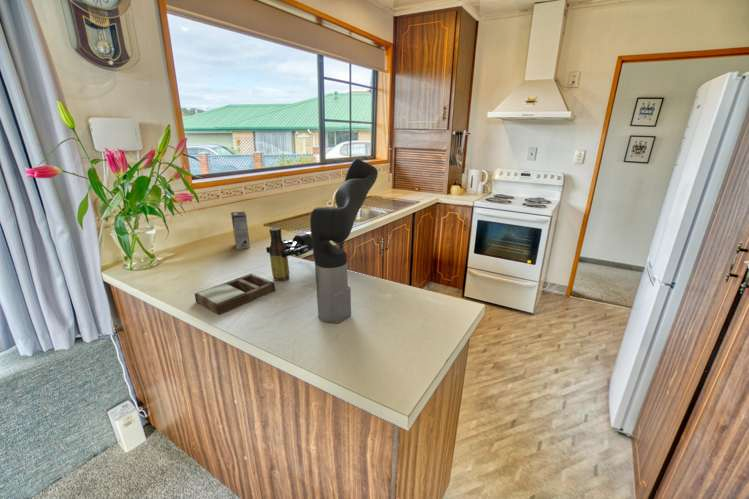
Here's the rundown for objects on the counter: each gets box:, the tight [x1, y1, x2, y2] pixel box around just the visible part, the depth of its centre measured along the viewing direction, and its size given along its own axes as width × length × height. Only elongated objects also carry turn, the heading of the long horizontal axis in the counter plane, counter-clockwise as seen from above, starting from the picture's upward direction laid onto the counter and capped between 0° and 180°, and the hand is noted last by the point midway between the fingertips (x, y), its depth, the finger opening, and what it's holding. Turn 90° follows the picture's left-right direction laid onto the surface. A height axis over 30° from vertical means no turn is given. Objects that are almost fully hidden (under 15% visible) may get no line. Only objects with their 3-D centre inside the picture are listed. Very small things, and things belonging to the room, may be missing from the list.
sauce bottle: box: [268, 226, 290, 282], centre depth 127 cm, size 7×6×20 cm
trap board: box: [194, 273, 276, 316], centre depth 116 cm, size 14×21×3 cm, turn 143°
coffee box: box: [230, 211, 251, 250], centre depth 165 cm, size 9×6×16 cm
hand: (274, 252), depth 125 cm, fingers open, 8 cm apart
